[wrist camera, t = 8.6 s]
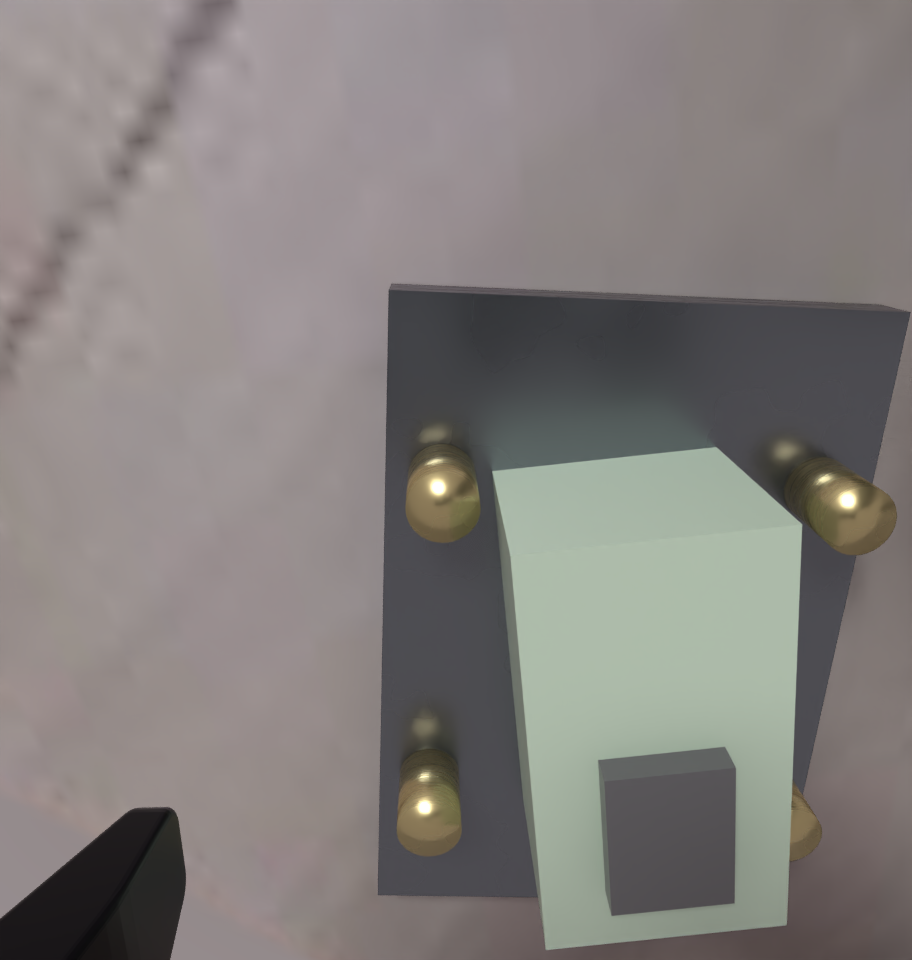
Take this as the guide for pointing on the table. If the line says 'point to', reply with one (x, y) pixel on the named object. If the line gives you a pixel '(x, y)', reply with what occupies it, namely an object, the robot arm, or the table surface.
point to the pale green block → (652, 692)
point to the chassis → (575, 438)
